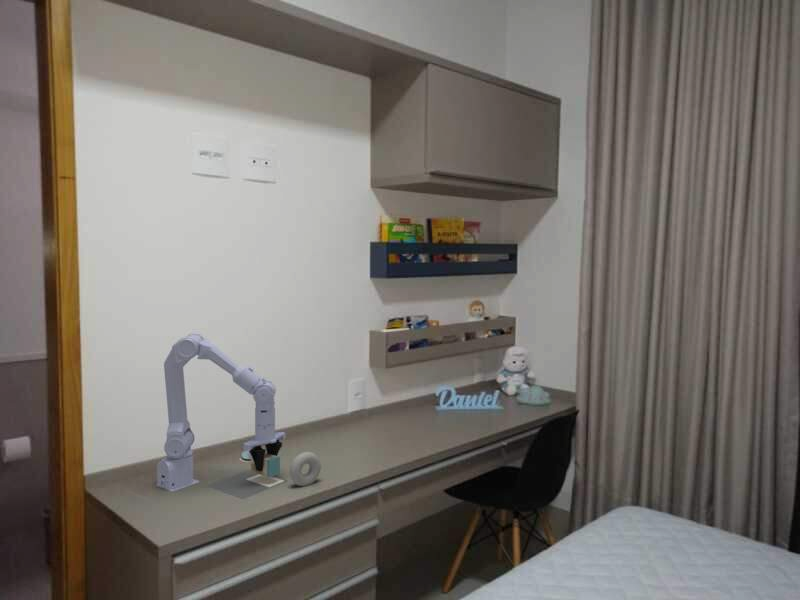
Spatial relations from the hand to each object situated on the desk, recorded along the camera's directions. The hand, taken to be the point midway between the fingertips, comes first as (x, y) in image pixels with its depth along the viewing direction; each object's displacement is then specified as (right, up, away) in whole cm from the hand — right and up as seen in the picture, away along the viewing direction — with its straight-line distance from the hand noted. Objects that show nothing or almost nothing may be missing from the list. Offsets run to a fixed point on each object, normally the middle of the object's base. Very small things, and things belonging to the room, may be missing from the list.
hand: (265, 468), depth 175 cm
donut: (+12, -5, -2) cm, 13 cm away
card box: (0, -1, 0) cm, 1 cm away
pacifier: (-10, -3, +19) cm, 22 cm away
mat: (-5, -4, -2) cm, 7 cm away
